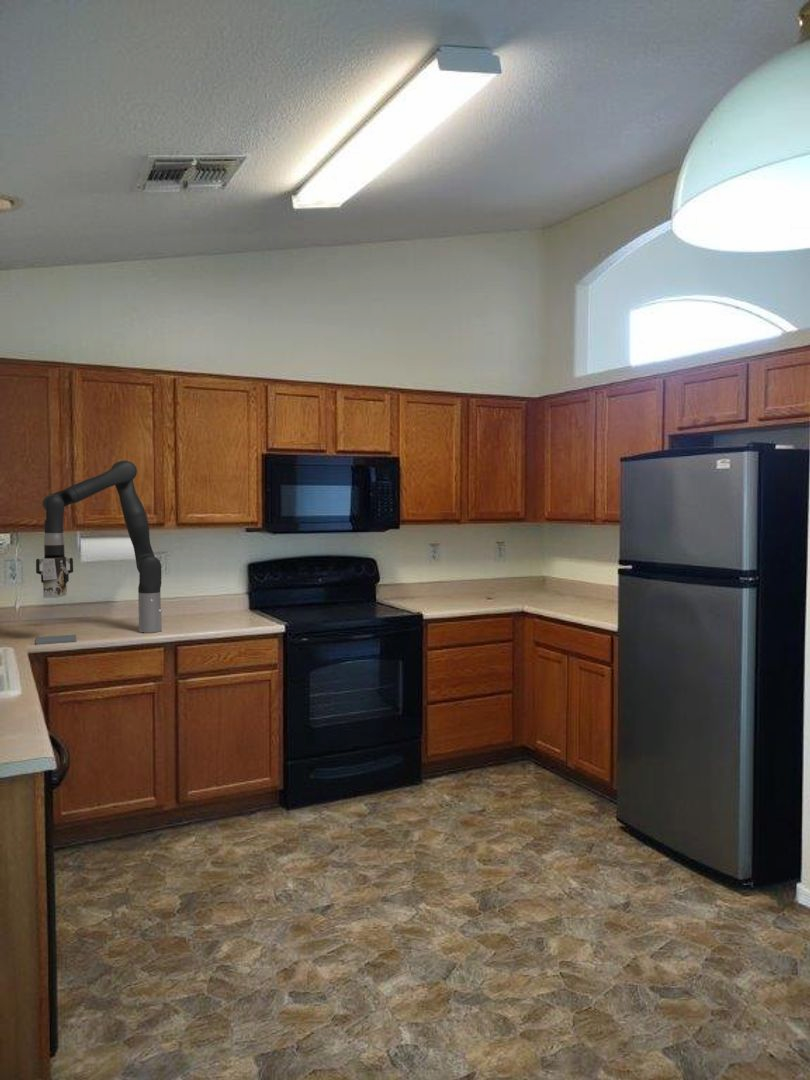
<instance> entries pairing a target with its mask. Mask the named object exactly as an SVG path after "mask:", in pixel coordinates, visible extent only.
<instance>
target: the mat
mask: <svg viewBox="0 0 810 1080" xmlns="http://www.w3.org/2000/svg"><path fill="white" fill-rule="evenodd" d="M76 642H77V635H76V634H67V635H63V634H62V635H50V636H49V635H48V636H37V637H36V640H35V645H47V644H61V643H62V644H64V643H66V644H67V643H76Z"/></svg>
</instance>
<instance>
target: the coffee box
mask: <svg viewBox="0 0 810 1080" xmlns="http://www.w3.org/2000/svg"><path fill="white" fill-rule="evenodd" d="M65 558H67V556H65ZM42 559H43V562H42V571H43V583H42V586H43V588H42V589H43V590H42V594H43V596H42V598H44V599H45V598H46V599H47V598H50V599H54V598H56V599H57V598H62V597H64V596H67V595H68V589H67V588H68V587H67V584H68V582H67V583H65V572H64V571H63V570H62V565H63V566H64V567H65V568H66V569H67V561H65V563H64V564H63V561H62V558H61V557H54V558H44V557H43V558H42Z"/></svg>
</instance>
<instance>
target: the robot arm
mask: <svg viewBox="0 0 810 1080" xmlns="http://www.w3.org/2000/svg"><path fill="white" fill-rule="evenodd" d="M137 474H138V469H137V466H136V465H135V463H133V462H132V461H130V460H120V461H116V462H115V463H114V464H113V465H112V466H111V468H110V469H109V470H107V471H105V472H103V473H101V474H98V475H96V476H92V477H91V478H87V479H84V480H81V481H79V482H77V483H75V484H72V485H70V486H68V487H66V488H65V489H62V490H59V491H56V492H54V493H51V494H49V495H46V496H44V498H43V500H42V507H43V509H44V510H45V519H44V535H43V547H44V551H43V552H44V553H43V554H44V557H43V558H54V557H61V558H62V561H63V564H64V563H65V561H66V563H68V564H69V569H67V567H66V568H65V567H64V566H63V565H62V570H63V571H64V572H65V583H67V584H68V583H69V579H70V578H69V577H70V576H69V575H70V574H71V573H72V574H73V572H74V559H73V557H68V558H67V557H66V556H65V555H66V554H65V534H64V515H65V507H67V506H69V505H73V504H76V503H79V502H82V501H83V500H85V499H87V498H89V497H92V496H94V495H96V494H97V493H100V492H102V491H105V490H106V489H108V488H111V487H113V486H115V489H116V491H117V494H118V496H119V497H118V498H119V502H120V507H121V511H122V515H123V518H124V523H125V526H126V530H127V534H128V535H129V539H130V542H131V544H132V547H133V552H134V557H135V565H136V569H137V571H138V573H139V574H138V575H139V577H138V580H139V581H138V587H137V589H138V591H137V593H138V598H137V599H138V632H139V633H142V632H144V633H143V634H145V633H150V634H152V633H159V632H162V630H163V629H162V626H163V625H162V624H163V623H162V622H163V621H162V609H161V607H162V605H161V597H162V596H161V587H162V564H161V560H159V558H157V557H156V556H155V554H154V551H153V548H152V544H151V540H150V539H151V538H150V526H149V525H150V524H149V520H148V516H147V512H146V509H145V507H144V505H143V503H142V502H141V499H140V498H139V496H138V494H137V491H136V487H135V484H134V479H135V478H136V476H137ZM65 557H66V558H65ZM43 558H36V559H35V571H36V572H35V573H36V574H38V575H40V582H41V583H42V584H43V570H40V565H41V564H43Z"/></svg>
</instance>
